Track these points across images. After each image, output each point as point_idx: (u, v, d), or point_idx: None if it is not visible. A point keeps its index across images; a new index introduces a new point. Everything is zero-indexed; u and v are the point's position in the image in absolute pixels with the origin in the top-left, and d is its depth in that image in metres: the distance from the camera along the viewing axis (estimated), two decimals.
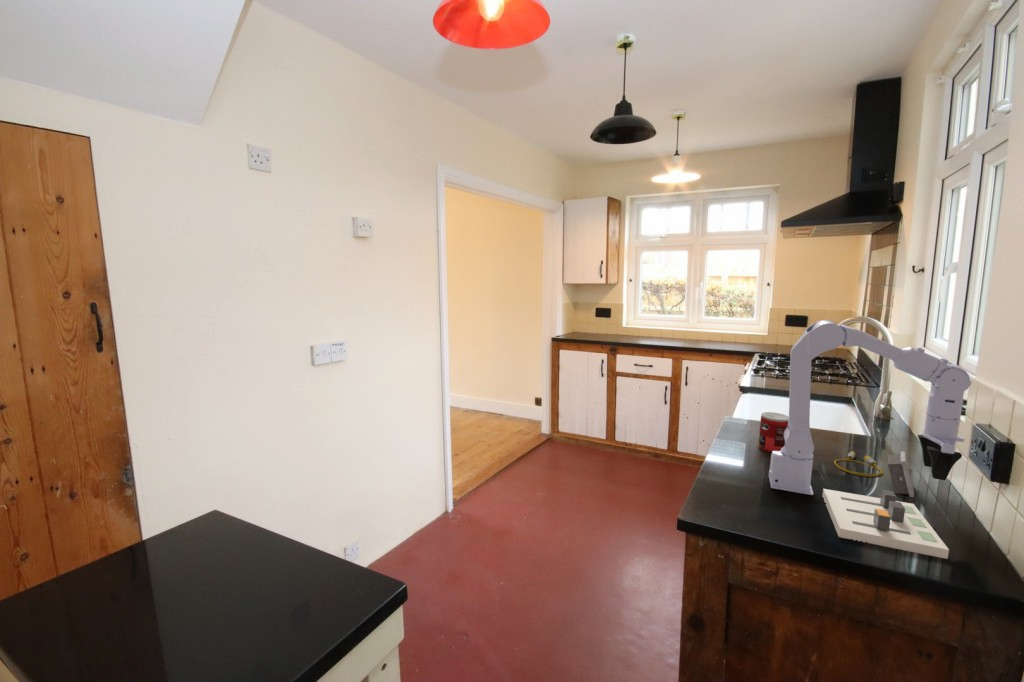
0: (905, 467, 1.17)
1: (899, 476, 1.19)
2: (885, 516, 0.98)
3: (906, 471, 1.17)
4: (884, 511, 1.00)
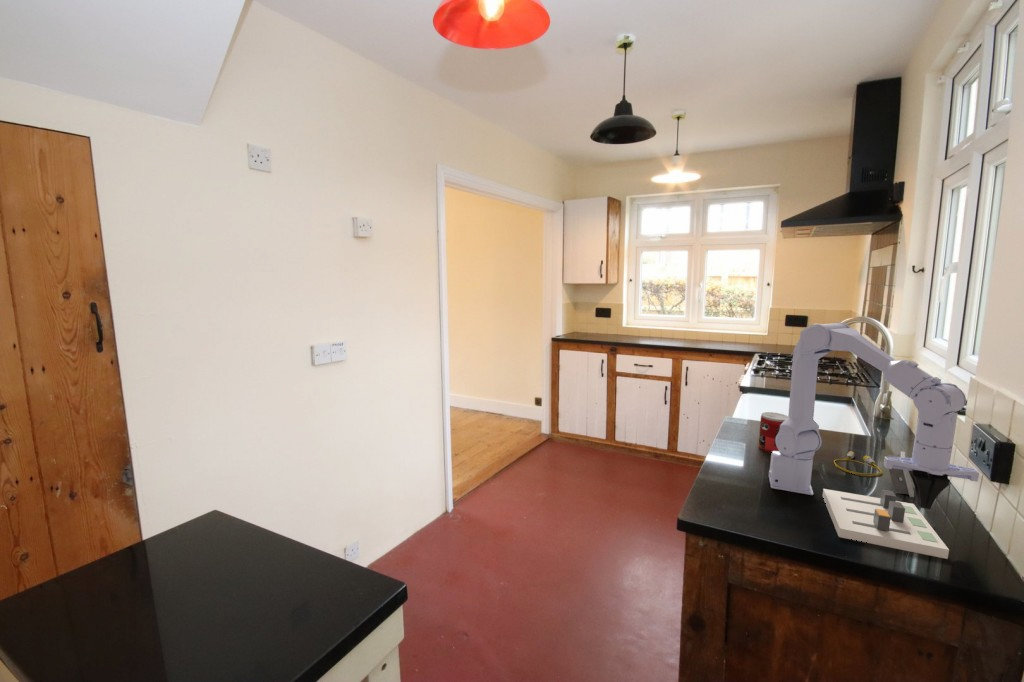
0: None
1: (899, 476, 1.19)
2: (885, 516, 0.98)
3: (906, 471, 1.17)
4: (884, 511, 1.00)
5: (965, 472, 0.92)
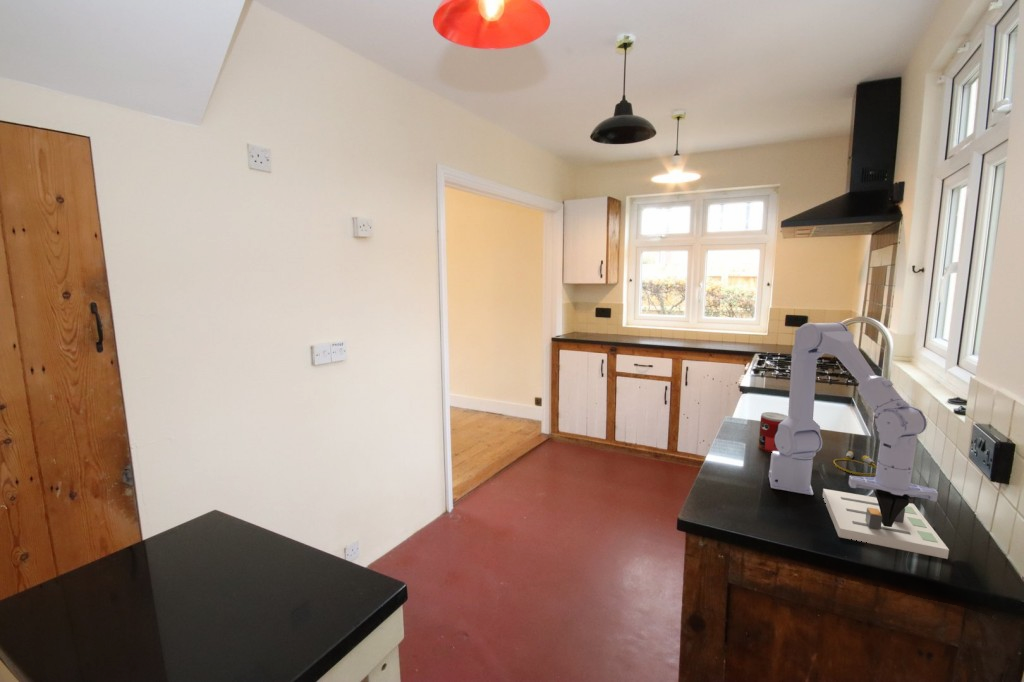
0: None
1: None
2: (877, 515, 0.99)
3: None
4: (876, 510, 1.01)
5: (925, 492, 0.95)
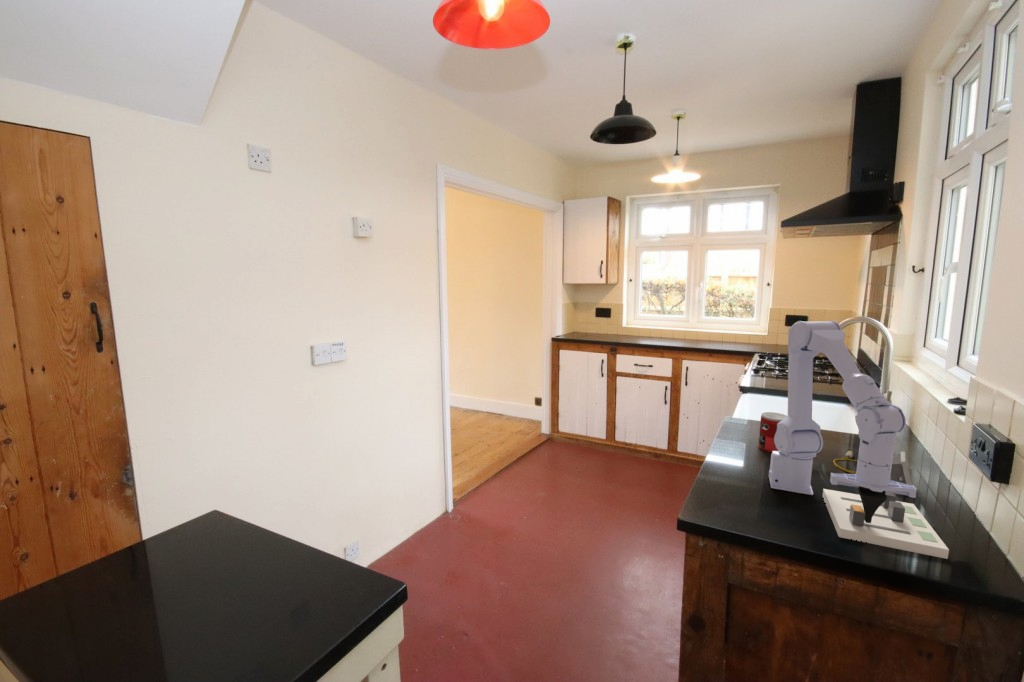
0: (905, 467, 1.17)
1: (899, 476, 1.19)
2: (860, 512, 1.00)
3: (906, 471, 1.17)
4: (859, 507, 1.02)
5: (904, 489, 0.96)
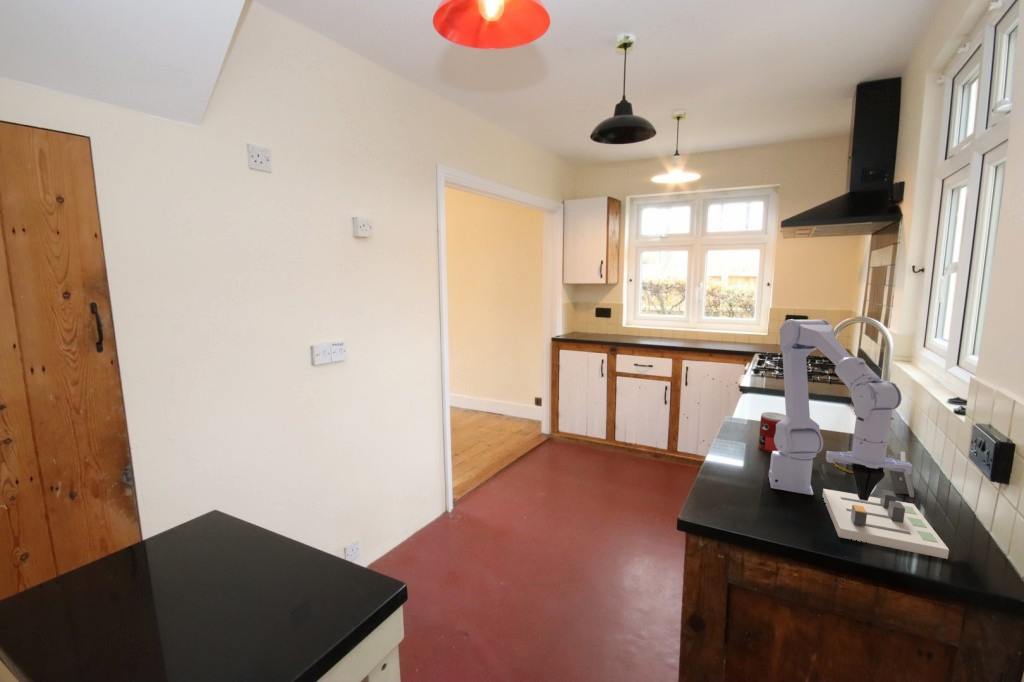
0: None
1: (899, 476, 1.19)
2: (862, 512, 1.00)
3: None
4: (861, 507, 1.02)
5: (899, 465, 0.96)
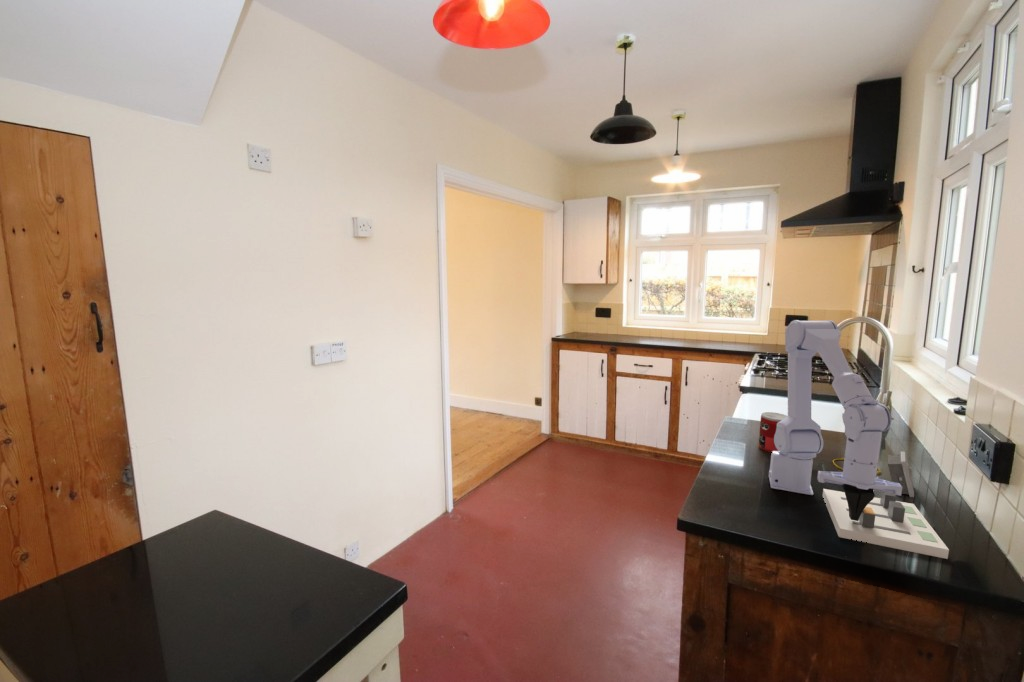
0: (905, 467, 1.17)
1: (899, 476, 1.19)
2: (870, 513, 0.99)
3: (906, 471, 1.17)
4: (869, 508, 1.01)
5: (889, 486, 0.97)
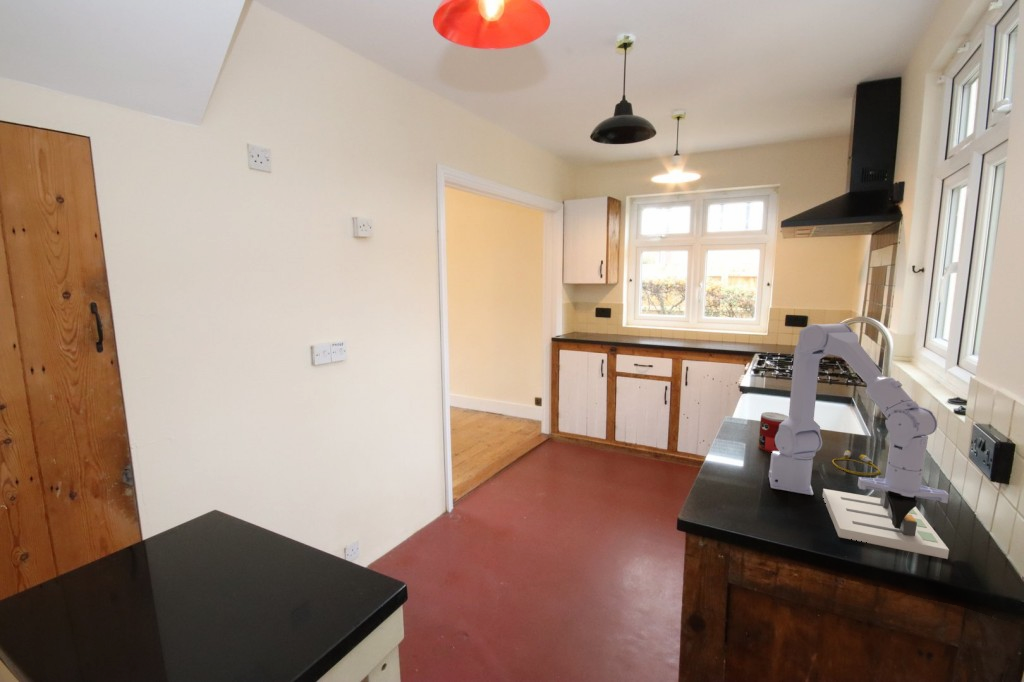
0: None
1: None
2: (912, 521, 0.96)
3: None
4: (910, 516, 0.98)
5: (935, 494, 0.94)
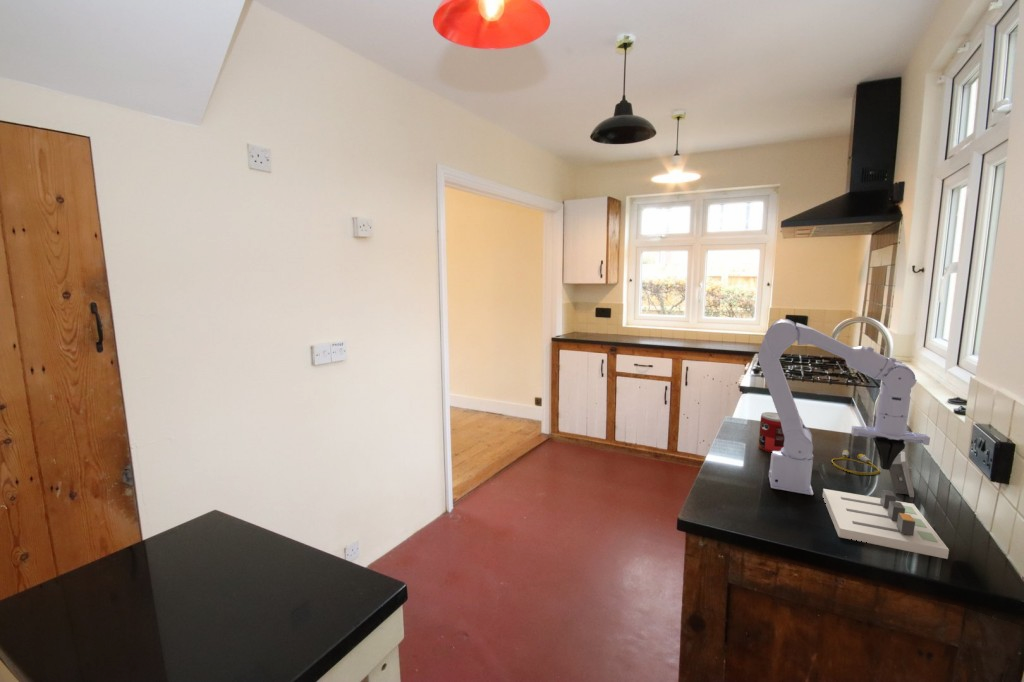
0: (905, 467, 1.17)
1: (899, 476, 1.19)
2: (910, 521, 0.97)
3: (906, 471, 1.17)
4: (908, 515, 0.98)
5: (918, 437, 1.08)
